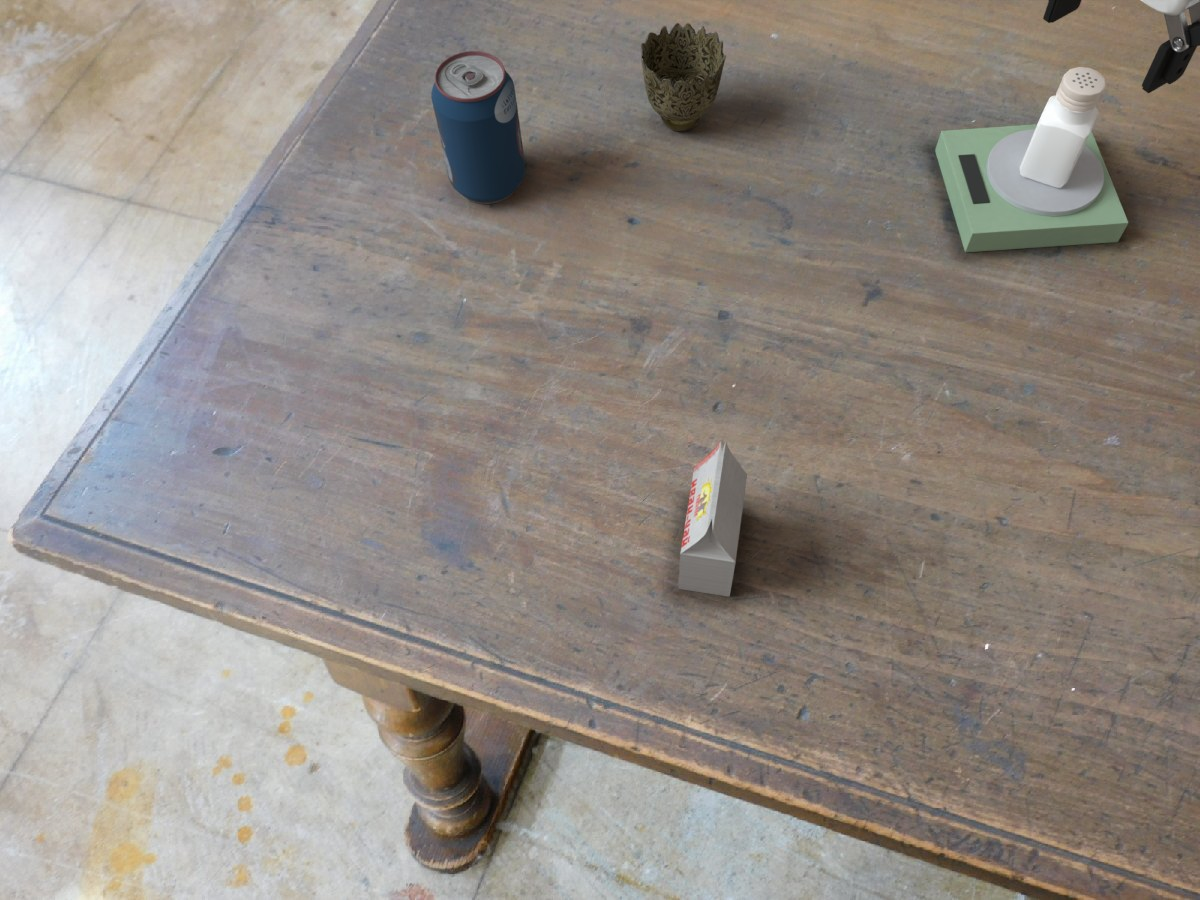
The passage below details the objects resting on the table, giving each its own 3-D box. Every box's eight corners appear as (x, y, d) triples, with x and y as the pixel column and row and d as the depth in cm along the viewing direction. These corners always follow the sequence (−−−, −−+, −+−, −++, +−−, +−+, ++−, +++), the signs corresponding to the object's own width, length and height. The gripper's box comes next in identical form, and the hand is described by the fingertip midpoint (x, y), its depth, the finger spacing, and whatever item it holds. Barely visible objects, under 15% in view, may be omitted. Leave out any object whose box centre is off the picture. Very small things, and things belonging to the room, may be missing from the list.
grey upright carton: (740, 512, 80) (752, 444, 71) (729, 596, 76) (740, 535, 68) (691, 505, 80) (696, 436, 72) (678, 588, 77) (682, 527, 68)
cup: (722, 148, 99) (728, 78, 92) (642, 150, 99) (642, 81, 92) (717, 91, 102) (723, 20, 95) (640, 94, 102) (639, 23, 96)
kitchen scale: (1078, 140, 97) (1090, 115, 95) (1117, 242, 91) (1131, 217, 89) (934, 150, 97) (942, 125, 95) (964, 252, 91) (974, 228, 89)
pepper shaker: (1029, 146, 93) (1066, 56, 85) (1075, 161, 92) (1117, 72, 84) (1015, 177, 91) (1051, 88, 83) (1062, 192, 90) (1103, 104, 82)
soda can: (542, 178, 97) (530, 71, 87) (487, 221, 95) (467, 117, 85) (490, 142, 100) (471, 34, 90) (434, 183, 98) (409, 77, 87)
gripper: (1366, -142, 63) (1237, 90, 78) (1138, -261, 71) (1059, -29, 86) (1278, -94, 61) (1162, 135, 76) (1054, -221, 69) (988, 9, 84)
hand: (1108, 48), depth 81 cm, fingers open, 9 cm apart
